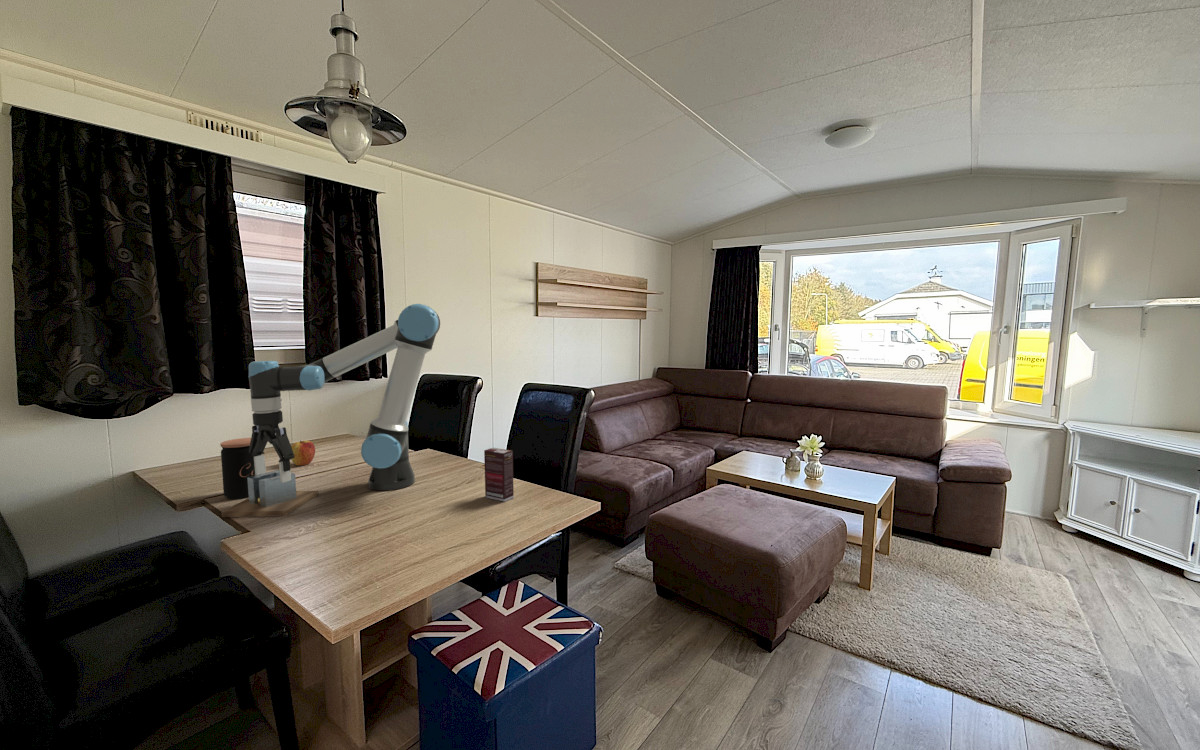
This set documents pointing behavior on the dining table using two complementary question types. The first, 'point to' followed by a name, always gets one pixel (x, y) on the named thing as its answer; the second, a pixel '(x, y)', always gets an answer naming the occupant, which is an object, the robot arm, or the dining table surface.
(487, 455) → the supplement box
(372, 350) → the robot arm
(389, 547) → the dining table surface
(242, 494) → the coffee jar
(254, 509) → the post base
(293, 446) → the apple
